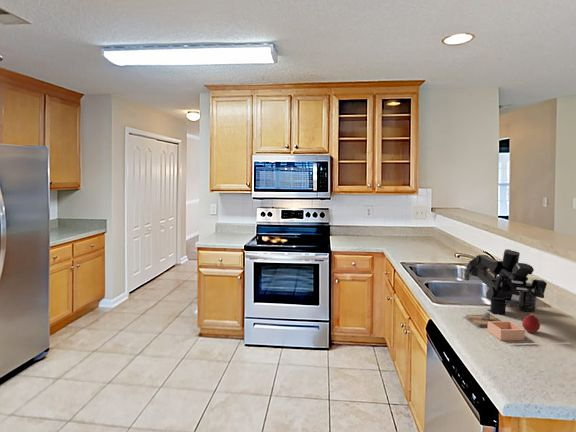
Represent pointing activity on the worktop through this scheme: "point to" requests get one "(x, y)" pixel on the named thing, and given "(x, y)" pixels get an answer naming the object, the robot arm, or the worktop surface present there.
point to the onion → (531, 323)
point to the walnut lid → (482, 319)
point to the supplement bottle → (527, 301)
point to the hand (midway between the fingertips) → (531, 295)
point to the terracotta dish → (505, 330)
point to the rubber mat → (473, 323)
